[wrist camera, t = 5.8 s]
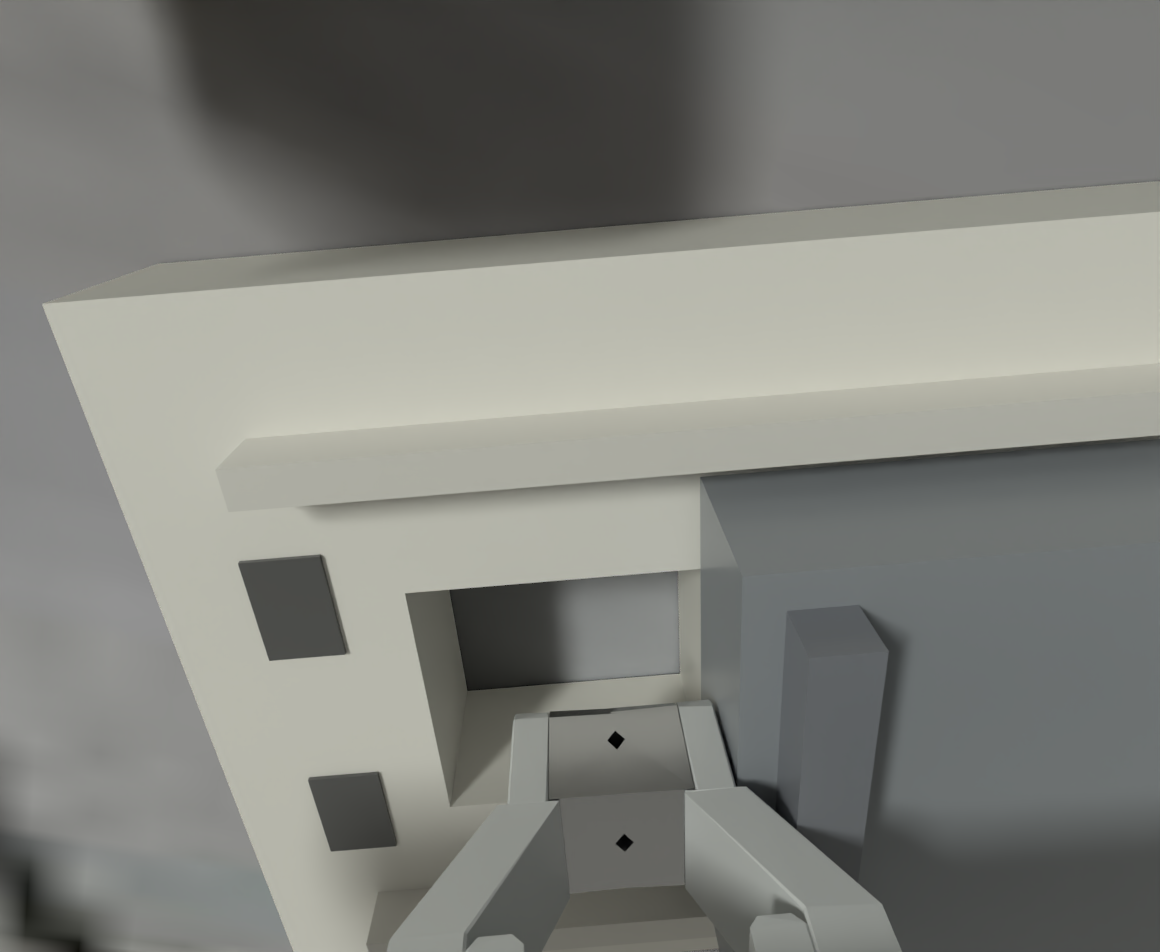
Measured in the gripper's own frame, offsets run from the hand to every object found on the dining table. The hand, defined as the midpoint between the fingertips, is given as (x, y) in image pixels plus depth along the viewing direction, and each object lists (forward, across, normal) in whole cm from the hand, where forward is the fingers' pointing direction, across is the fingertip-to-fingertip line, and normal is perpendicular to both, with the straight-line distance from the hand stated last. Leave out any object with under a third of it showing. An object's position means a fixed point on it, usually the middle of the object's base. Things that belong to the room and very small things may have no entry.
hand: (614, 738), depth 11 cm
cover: (+1, -5, 0) cm, 5 cm away
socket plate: (+4, -3, 0) cm, 5 cm away
